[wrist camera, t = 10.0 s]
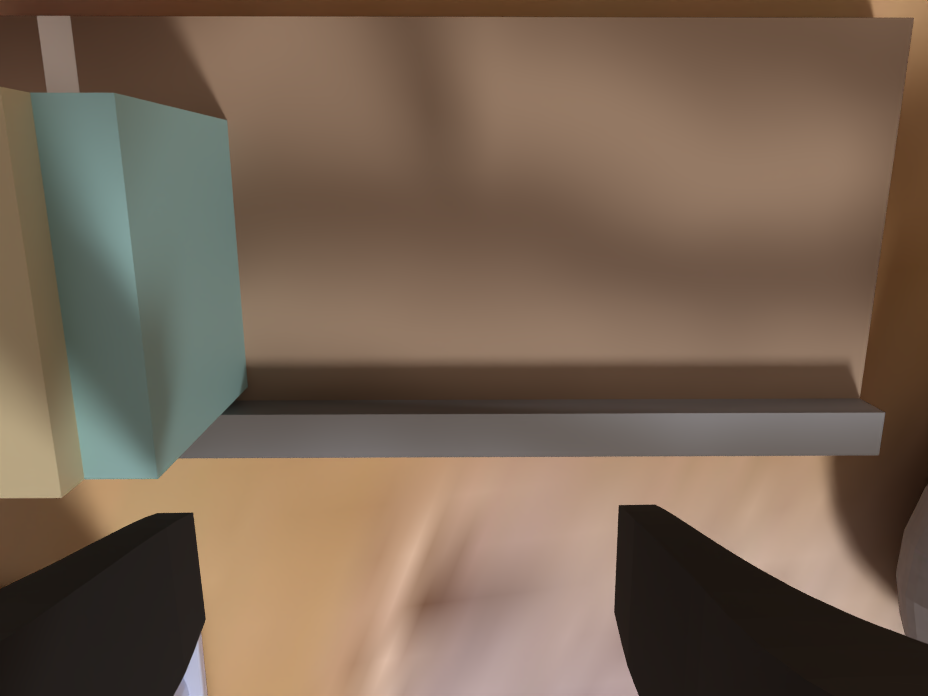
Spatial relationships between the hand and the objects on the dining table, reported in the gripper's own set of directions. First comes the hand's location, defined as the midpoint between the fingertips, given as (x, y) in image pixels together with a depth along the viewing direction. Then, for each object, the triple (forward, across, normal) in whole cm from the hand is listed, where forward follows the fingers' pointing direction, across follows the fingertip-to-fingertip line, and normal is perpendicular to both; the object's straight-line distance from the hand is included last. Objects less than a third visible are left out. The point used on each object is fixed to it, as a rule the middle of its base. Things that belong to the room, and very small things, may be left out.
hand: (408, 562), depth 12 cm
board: (+9, -1, -5) cm, 10 cm away
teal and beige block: (+8, +7, -4) cm, 11 cm away
